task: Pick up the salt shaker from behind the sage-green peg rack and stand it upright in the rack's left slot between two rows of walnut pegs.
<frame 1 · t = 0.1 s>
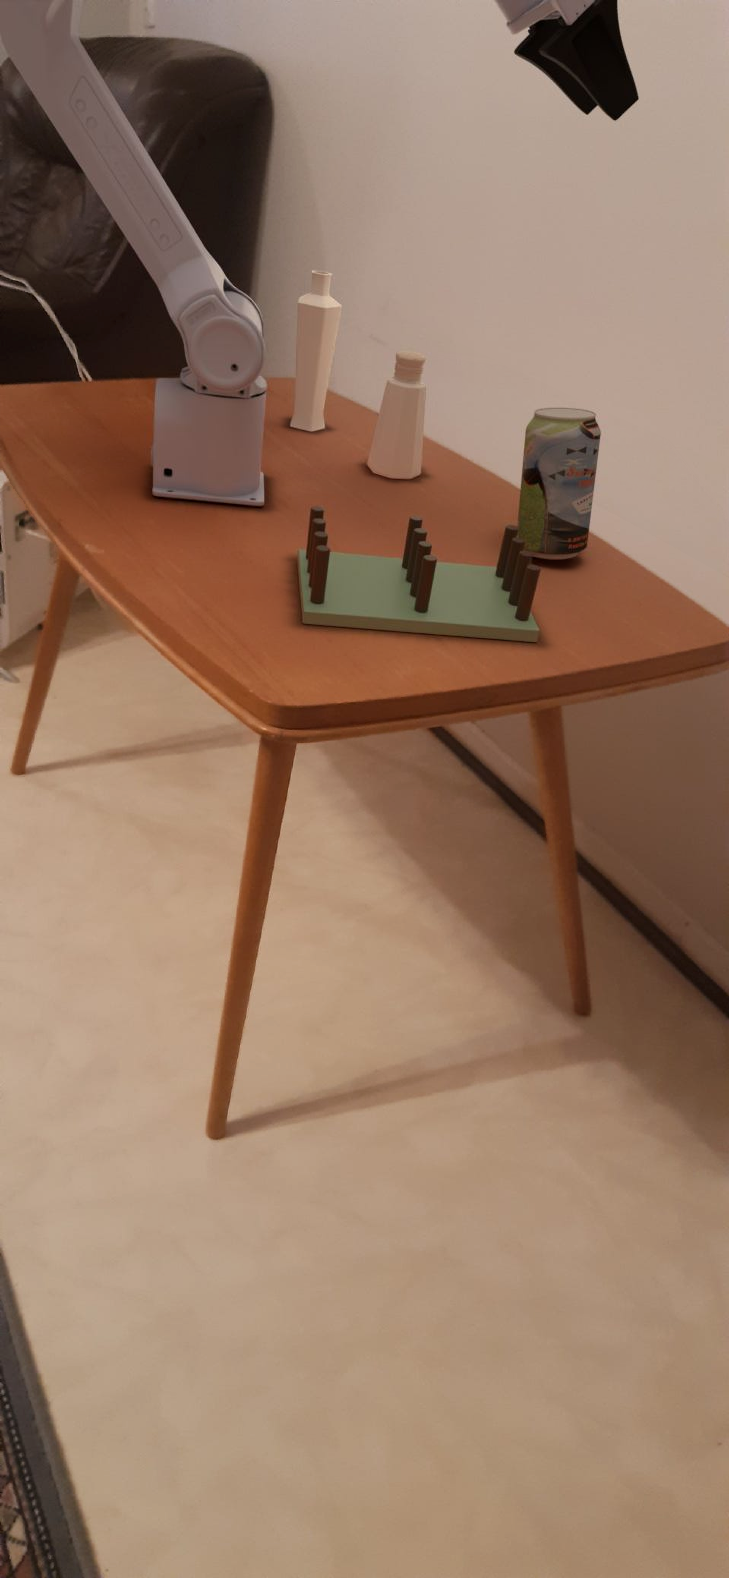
hand: (611, 107, 77), 32 cm above the table, tool tilted 50°, fingers open, 7 cm apart
rack: (412, 600, 77), on the table
beverage can: (541, 554, 89), on the table
salt shaker: (393, 472, 102), on the table
perfume bottle: (307, 427, 110), on the table
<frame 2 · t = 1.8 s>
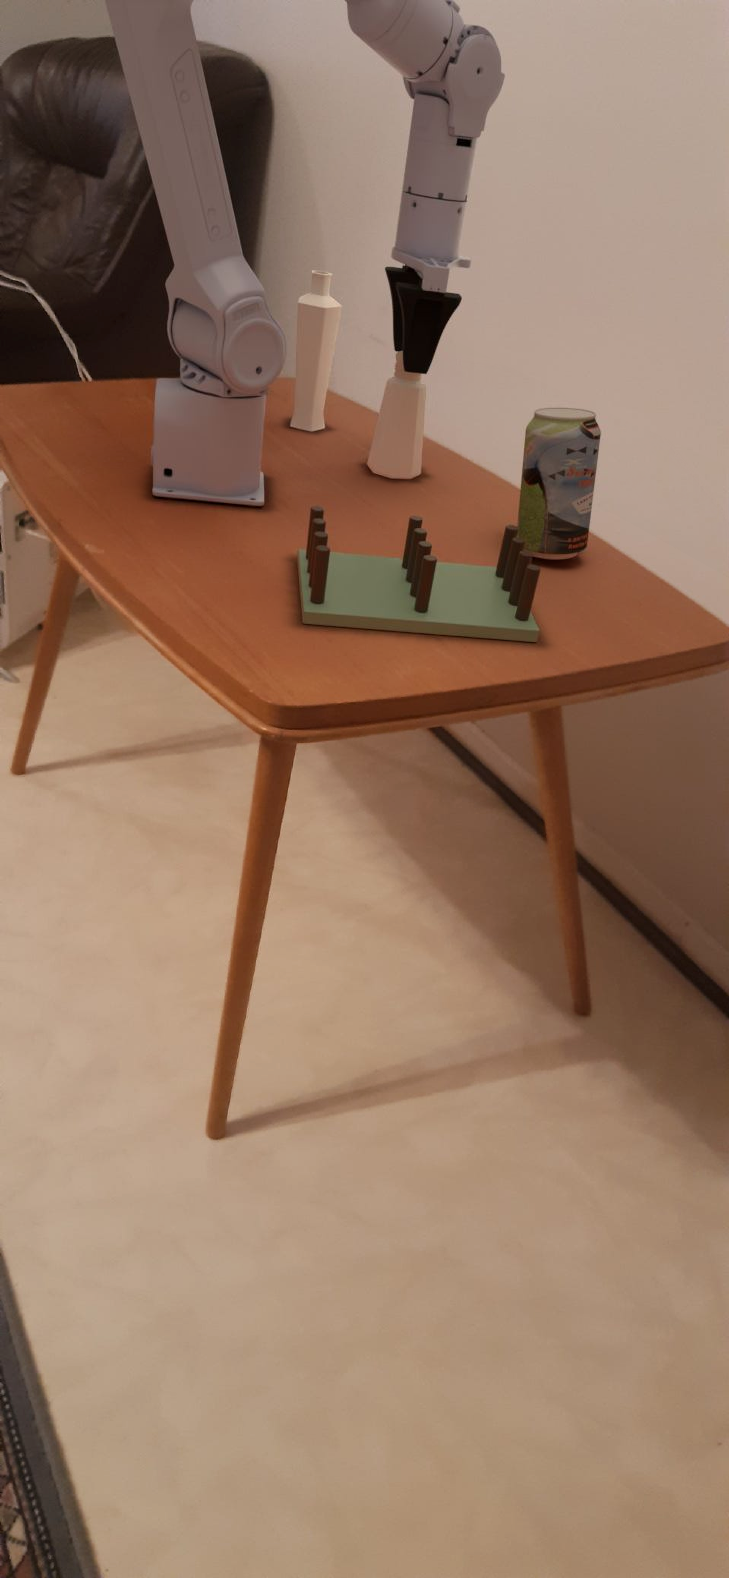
hand: (410, 361, 96), 10 cm above the table, tool pointing down, fingers open, 7 cm apart
nothing on the table moved.
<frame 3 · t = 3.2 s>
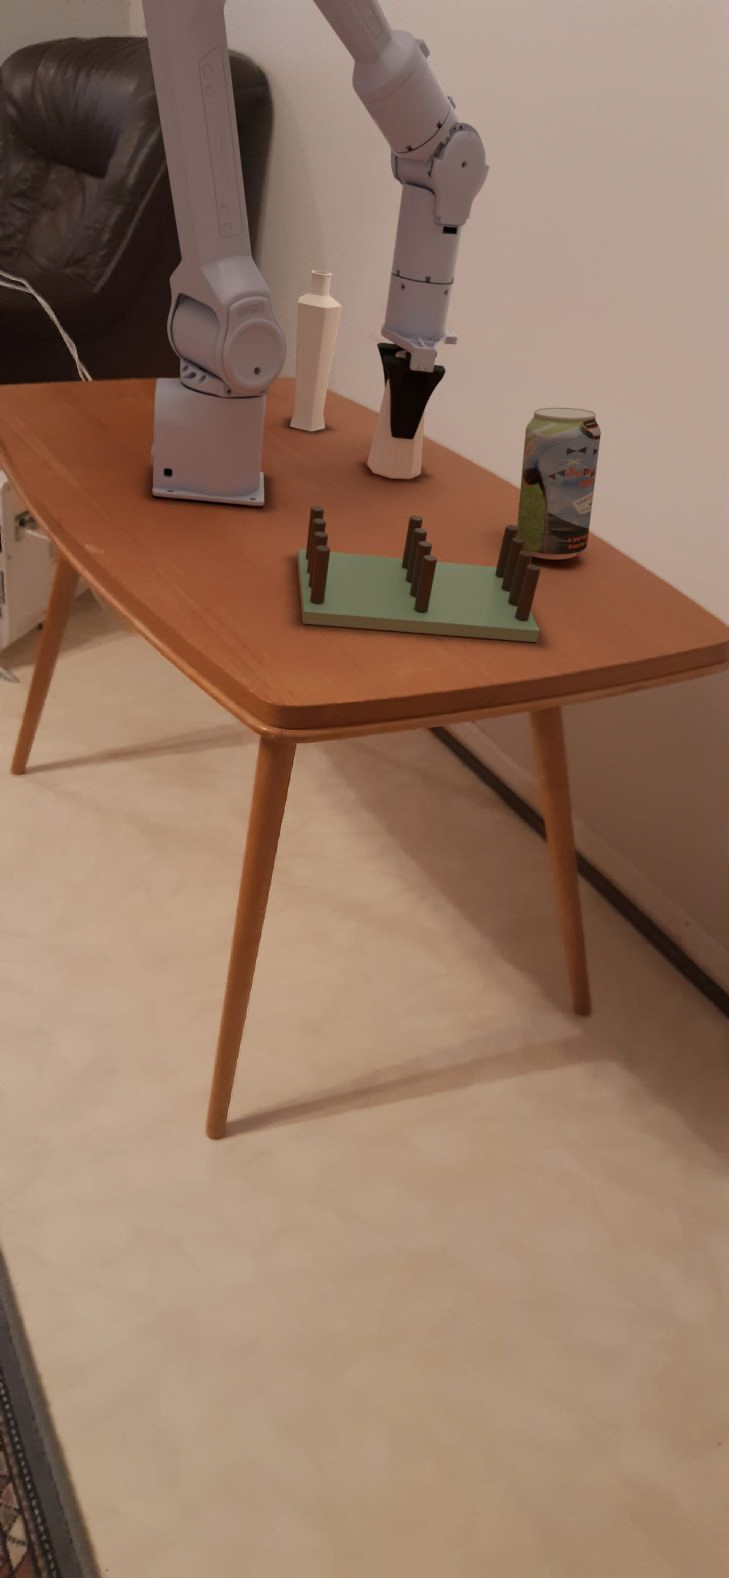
hand: (399, 430, 99), 4 cm above the table, tool pointing down, fingers closed on salt shaker, 4 cm apart
salt shaker: (393, 472, 102), on the table, touching gripper
everything else where it was.
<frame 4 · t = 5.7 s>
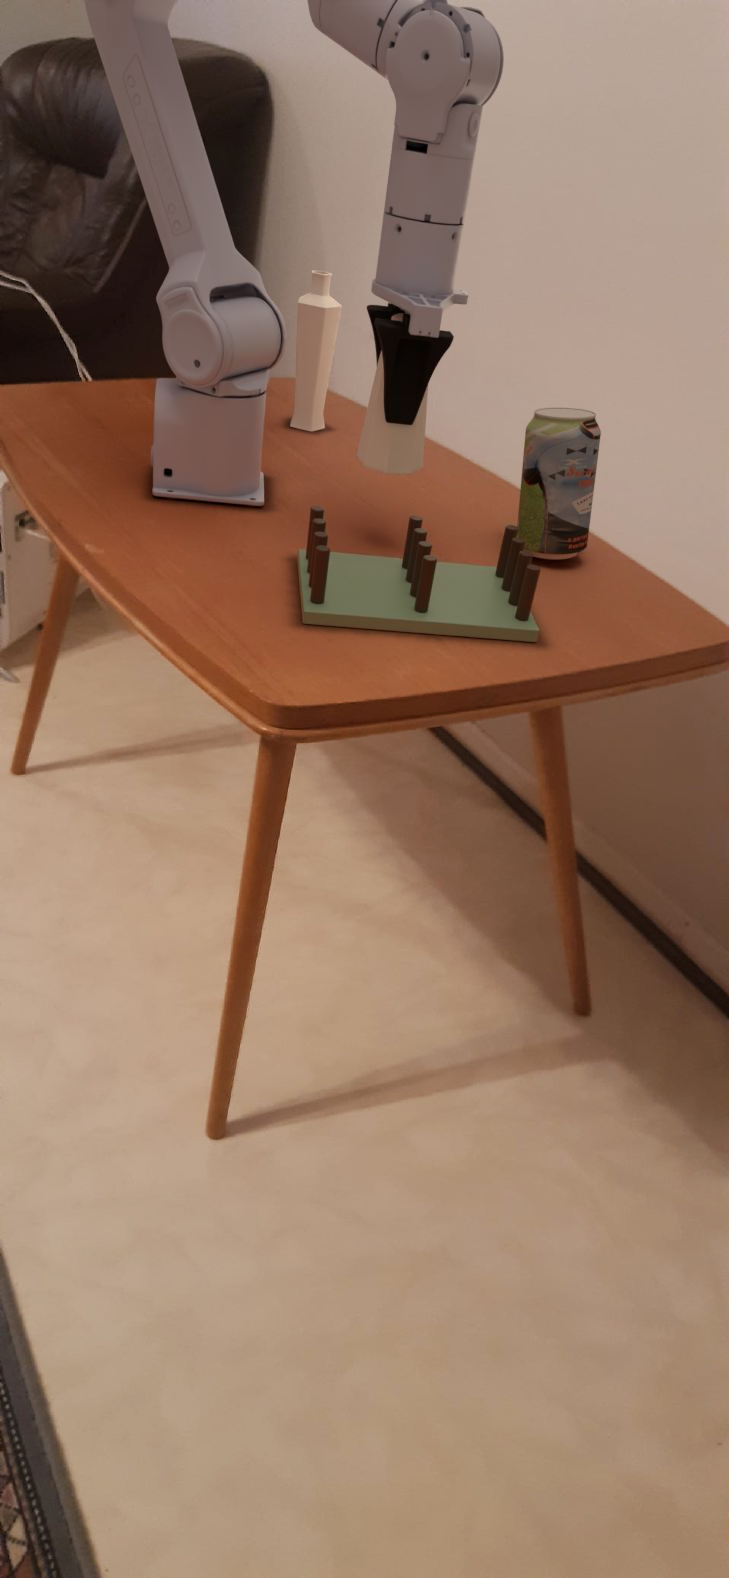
hand: (395, 414, 80), 10 cm above the table, tool pointing down, fingers closed on salt shaker, 4 cm apart
salt shaker: (388, 466, 82), point 6 cm above the table, touching gripper
everything else where it was.
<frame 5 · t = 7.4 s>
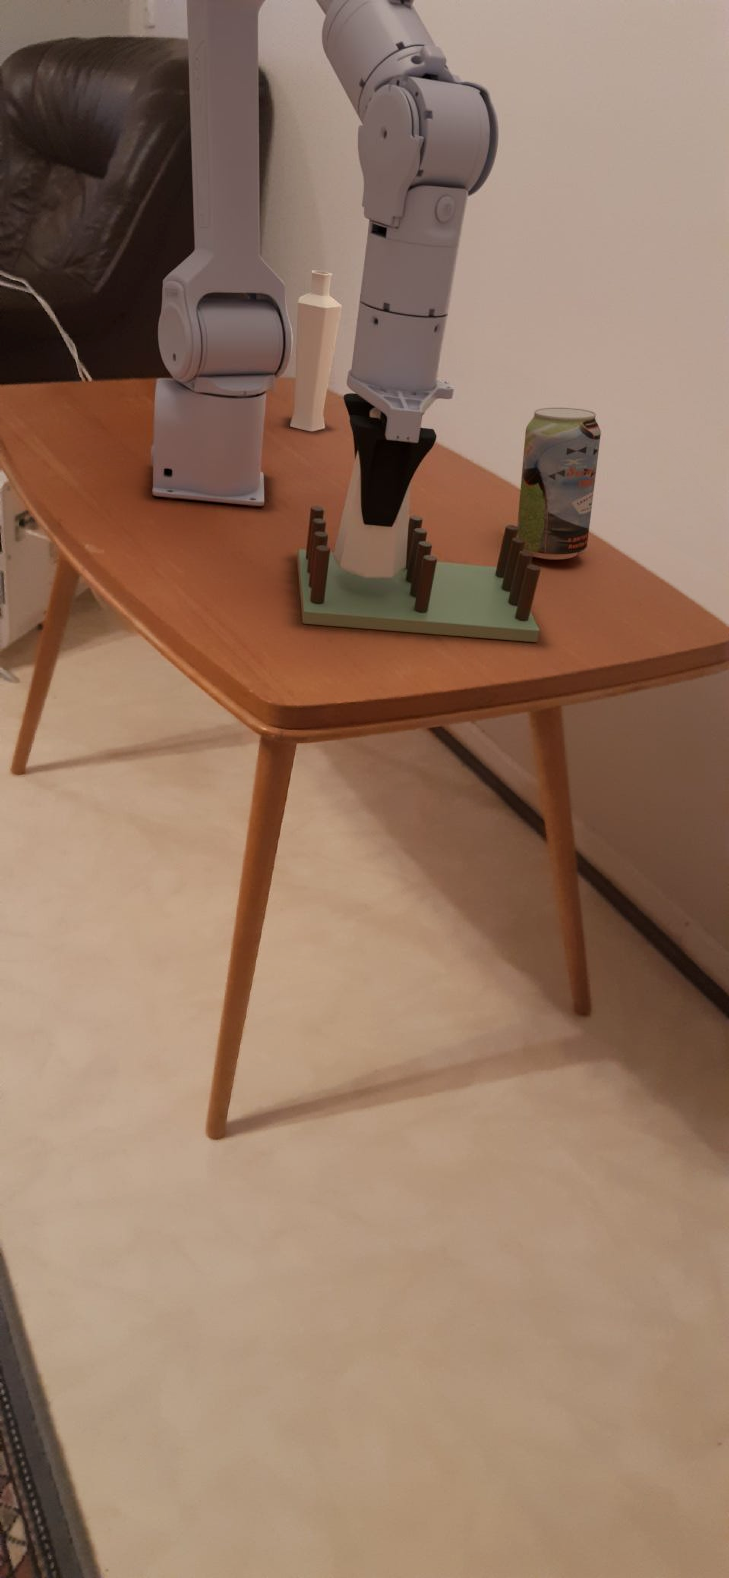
hand: (374, 513, 73), 6 cm above the table, tool pointing down, fingers closed on salt shaker, 4 cm apart
salt shaker: (368, 566, 75), point 2 cm above the table, touching gripper
everything else where it was.
when the fingers open (5 cm above the table, at t = 8.3 s): salt shaker stays where it is, resting on rack.
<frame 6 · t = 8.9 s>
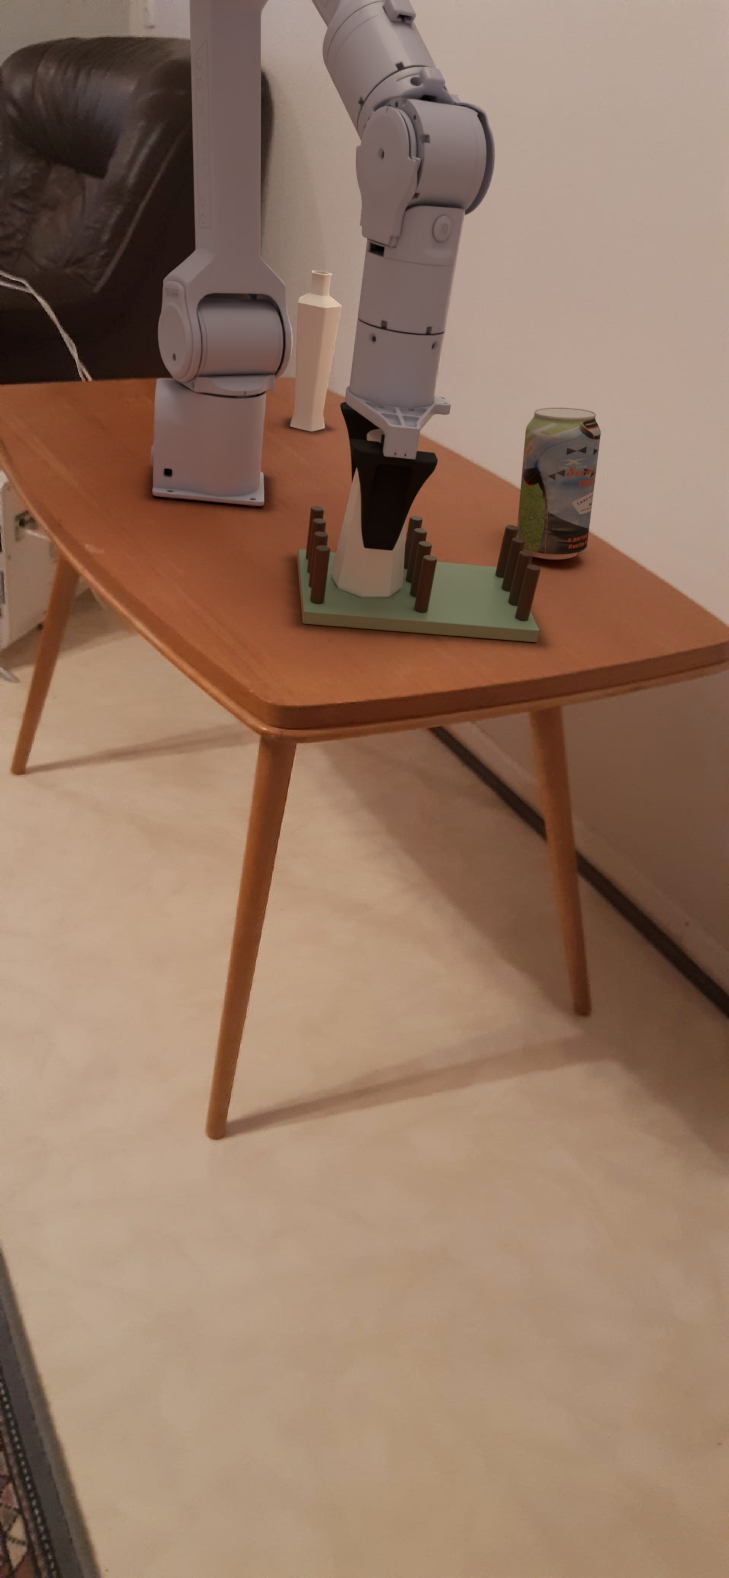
hand: (372, 526, 74), 5 cm above the table, tool pointing down, fingers open, 7 cm apart
salt shaker: (365, 585, 76), point 1 cm above the table, touching rack
everything else where it was.
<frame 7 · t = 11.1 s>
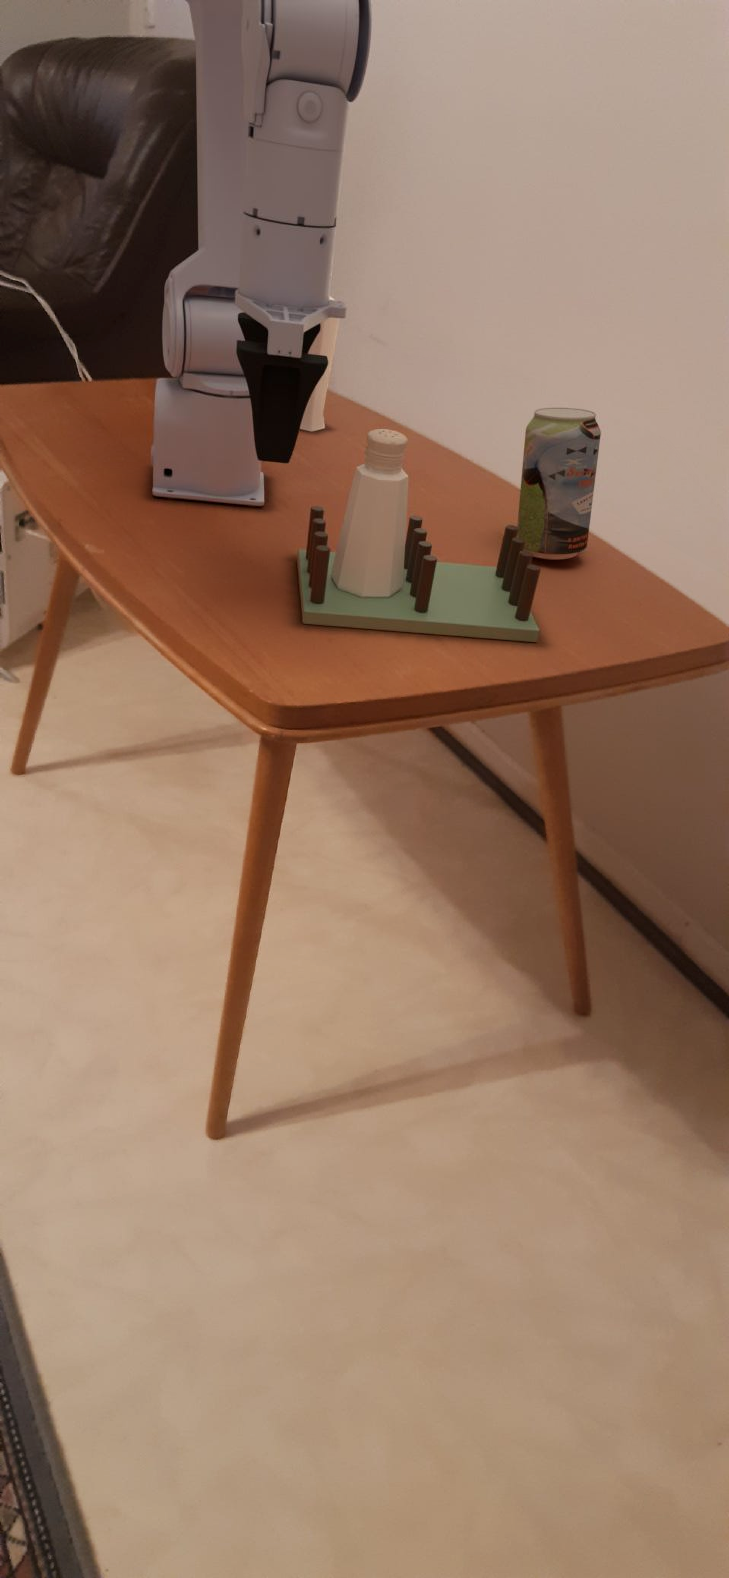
hand: (272, 442, 70), 10 cm above the table, tool pointing down, fingers open, 7 cm apart
nothing on the table moved.
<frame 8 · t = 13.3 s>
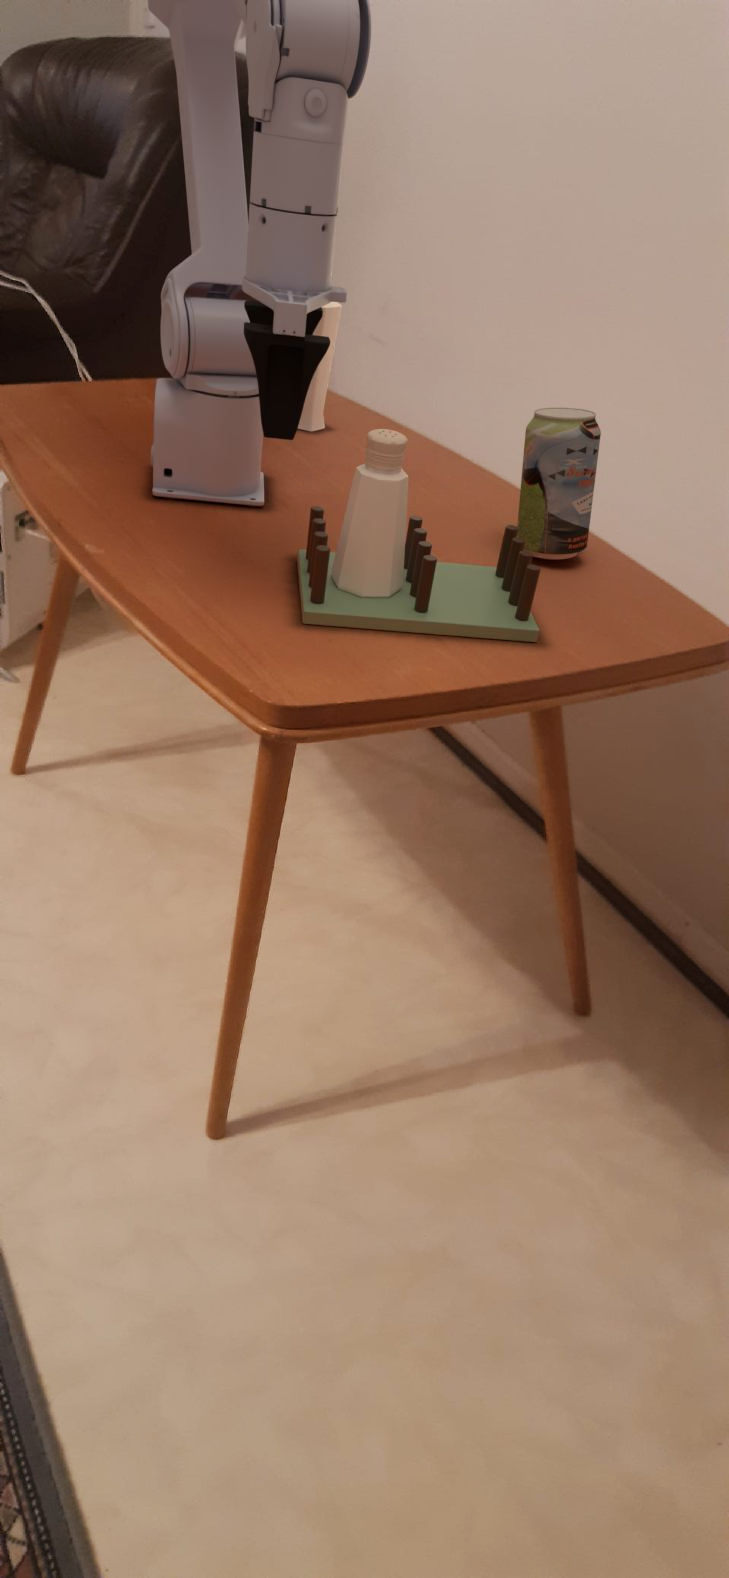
hand: (277, 422, 74), 10 cm above the table, tool pointing down, fingers open, 7 cm apart
nothing on the table moved.
at the end: salt shaker inside the target area on the rack (0.1 cm from its centre), point 0.8 cm above the rack's base; salt shaker tilted 0°; the gripper is holding nothing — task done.
